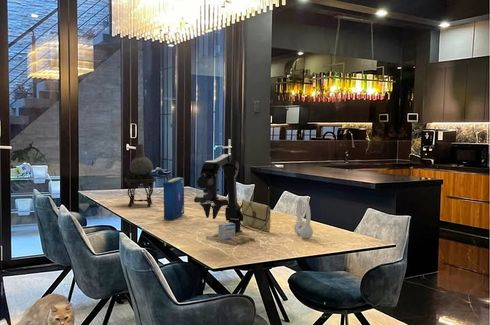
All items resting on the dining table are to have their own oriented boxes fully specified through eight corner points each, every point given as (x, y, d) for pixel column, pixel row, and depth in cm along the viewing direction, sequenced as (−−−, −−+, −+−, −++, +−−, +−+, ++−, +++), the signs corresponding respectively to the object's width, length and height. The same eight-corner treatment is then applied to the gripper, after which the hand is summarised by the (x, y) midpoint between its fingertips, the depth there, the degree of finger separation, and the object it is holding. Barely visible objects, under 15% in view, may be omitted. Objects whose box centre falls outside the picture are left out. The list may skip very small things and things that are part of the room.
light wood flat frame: (225, 235, 253) (225, 231, 253) (254, 242, 239) (255, 238, 239) (206, 239, 243) (206, 236, 243) (235, 247, 229) (235, 243, 229)
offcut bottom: (241, 242, 240) (241, 238, 240) (248, 244, 237) (249, 240, 237) (232, 244, 235) (232, 240, 235) (239, 246, 232) (239, 242, 232)
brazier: (149, 208, 338) (149, 145, 335) (119, 206, 341) (119, 144, 338) (160, 203, 360) (160, 144, 357) (132, 202, 364) (131, 143, 360)
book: (173, 220, 292) (173, 180, 290) (162, 220, 294) (162, 180, 292) (184, 214, 313) (184, 177, 312) (174, 214, 315) (174, 176, 313)
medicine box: (224, 242, 238) (224, 225, 238) (218, 240, 241) (218, 224, 241) (235, 239, 244) (235, 223, 243) (229, 238, 247) (229, 222, 246)
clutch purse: (234, 224, 283) (234, 199, 282) (244, 223, 287) (244, 199, 286) (262, 234, 258) (262, 207, 257) (272, 232, 262) (273, 206, 261)
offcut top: (241, 238, 240) (242, 234, 240) (248, 240, 237) (248, 236, 236) (231, 240, 235) (231, 236, 235) (238, 242, 232) (238, 238, 232)
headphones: (304, 232, 262) (305, 197, 261) (314, 240, 244) (315, 202, 243) (292, 233, 261) (293, 197, 260) (301, 241, 243) (302, 202, 242)
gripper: (186, 186, 231) (185, 217, 232) (212, 189, 219) (212, 222, 220) (202, 184, 240) (202, 215, 240) (229, 187, 227) (228, 220, 228)
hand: (210, 218), depth 232 cm, fingers open, 4 cm apart
